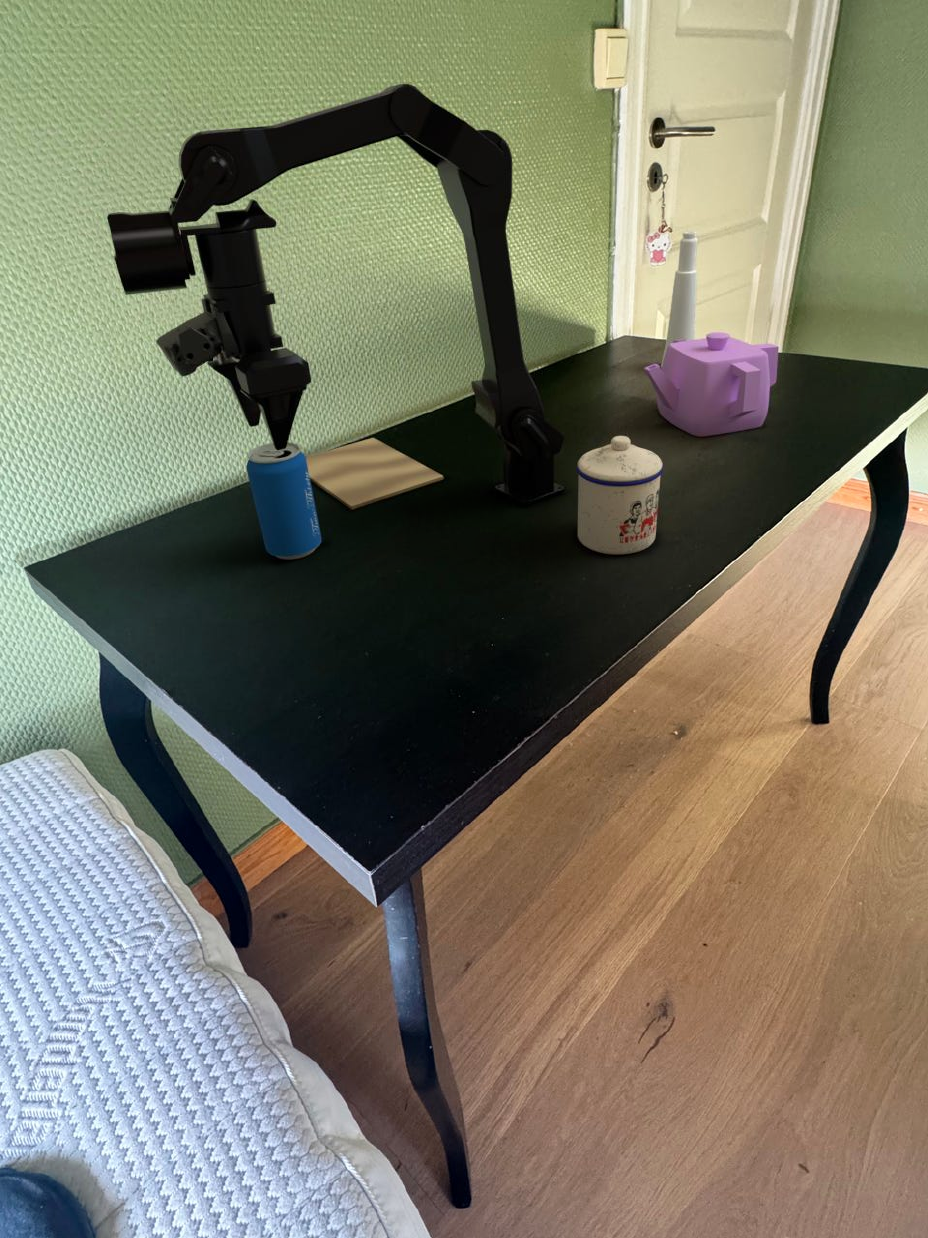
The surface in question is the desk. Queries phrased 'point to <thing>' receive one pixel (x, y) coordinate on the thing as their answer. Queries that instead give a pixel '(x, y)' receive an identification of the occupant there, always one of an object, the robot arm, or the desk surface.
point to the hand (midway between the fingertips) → (267, 436)
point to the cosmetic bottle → (684, 293)
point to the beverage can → (284, 500)
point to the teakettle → (715, 384)
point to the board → (367, 472)
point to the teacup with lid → (618, 497)
